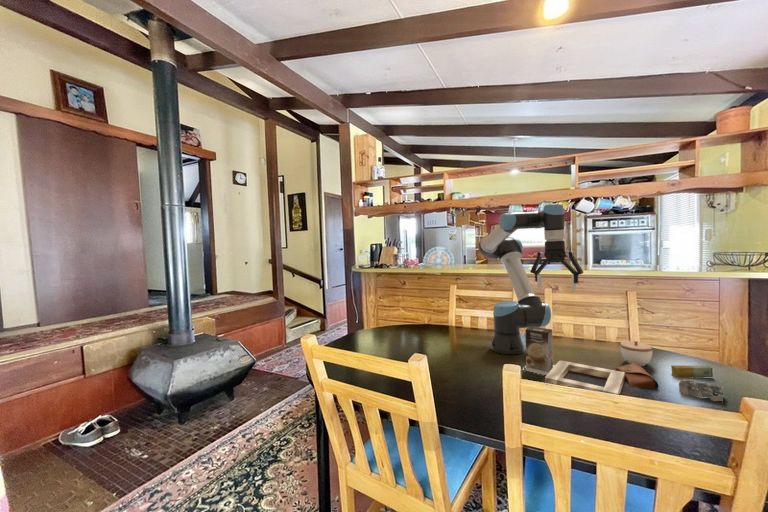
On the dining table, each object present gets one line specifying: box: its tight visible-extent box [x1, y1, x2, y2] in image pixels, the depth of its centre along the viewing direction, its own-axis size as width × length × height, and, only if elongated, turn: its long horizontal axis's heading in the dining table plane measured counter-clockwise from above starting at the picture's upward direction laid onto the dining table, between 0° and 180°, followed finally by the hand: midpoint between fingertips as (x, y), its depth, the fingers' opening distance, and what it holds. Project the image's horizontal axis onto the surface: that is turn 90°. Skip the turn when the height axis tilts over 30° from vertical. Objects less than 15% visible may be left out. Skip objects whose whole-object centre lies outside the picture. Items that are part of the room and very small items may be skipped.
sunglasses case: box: [614, 361, 660, 390], centre depth 121 cm, size 18×7×7 cm, turn 161°
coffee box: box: [525, 326, 554, 372], centre depth 133 cm, size 9×6×16 cm
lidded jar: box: [619, 340, 654, 367], centre depth 134 cm, size 11×11×9 cm
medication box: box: [670, 365, 714, 379], centre depth 120 cm, size 12×3×4 cm, turn 80°
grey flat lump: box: [678, 378, 725, 403], centre depth 107 cm, size 11×8×4 cm
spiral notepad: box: [521, 364, 556, 376], centre depth 134 cm, size 10×12×1 cm
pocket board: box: [544, 360, 626, 395], centre depth 120 cm, size 22×21×2 cm
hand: (556, 290), depth 137 cm, fingers open, 13 cm apart
